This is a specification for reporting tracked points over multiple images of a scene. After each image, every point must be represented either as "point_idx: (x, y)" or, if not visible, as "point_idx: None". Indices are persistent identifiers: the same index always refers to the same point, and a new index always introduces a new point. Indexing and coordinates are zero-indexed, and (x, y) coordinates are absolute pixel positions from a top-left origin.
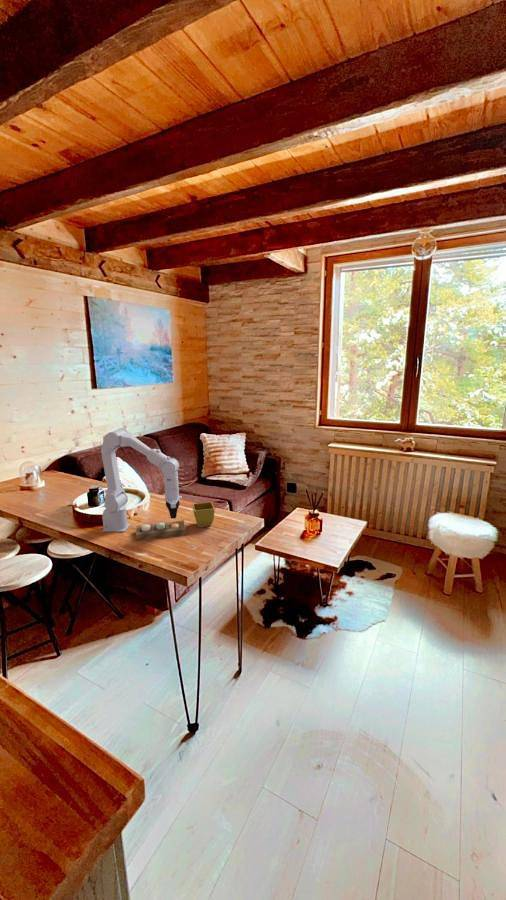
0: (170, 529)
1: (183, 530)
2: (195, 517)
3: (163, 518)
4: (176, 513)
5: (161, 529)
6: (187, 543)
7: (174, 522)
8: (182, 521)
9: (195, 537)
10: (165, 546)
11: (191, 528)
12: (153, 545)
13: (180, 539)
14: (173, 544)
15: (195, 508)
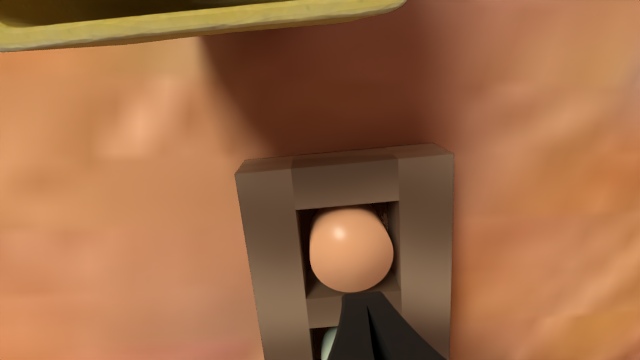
0: (417, 285)
1: (448, 168)
2: (347, 21)
3: (68, 328)
4: (409, 326)
5: None
6: (599, 125)
7: (266, 258)
8: (254, 183)
9: (513, 51)
10: (580, 283)
11: (311, 86)
12: (534, 355)
13: (507, 182)
14: (572, 232)
15: (56, 1)
